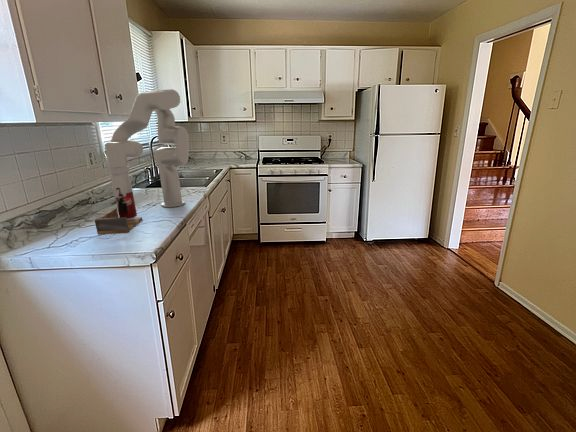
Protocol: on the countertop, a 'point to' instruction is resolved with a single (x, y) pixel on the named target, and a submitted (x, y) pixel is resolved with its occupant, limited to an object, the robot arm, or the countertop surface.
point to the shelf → (115, 223)
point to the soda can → (128, 206)
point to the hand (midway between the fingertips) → (127, 209)
